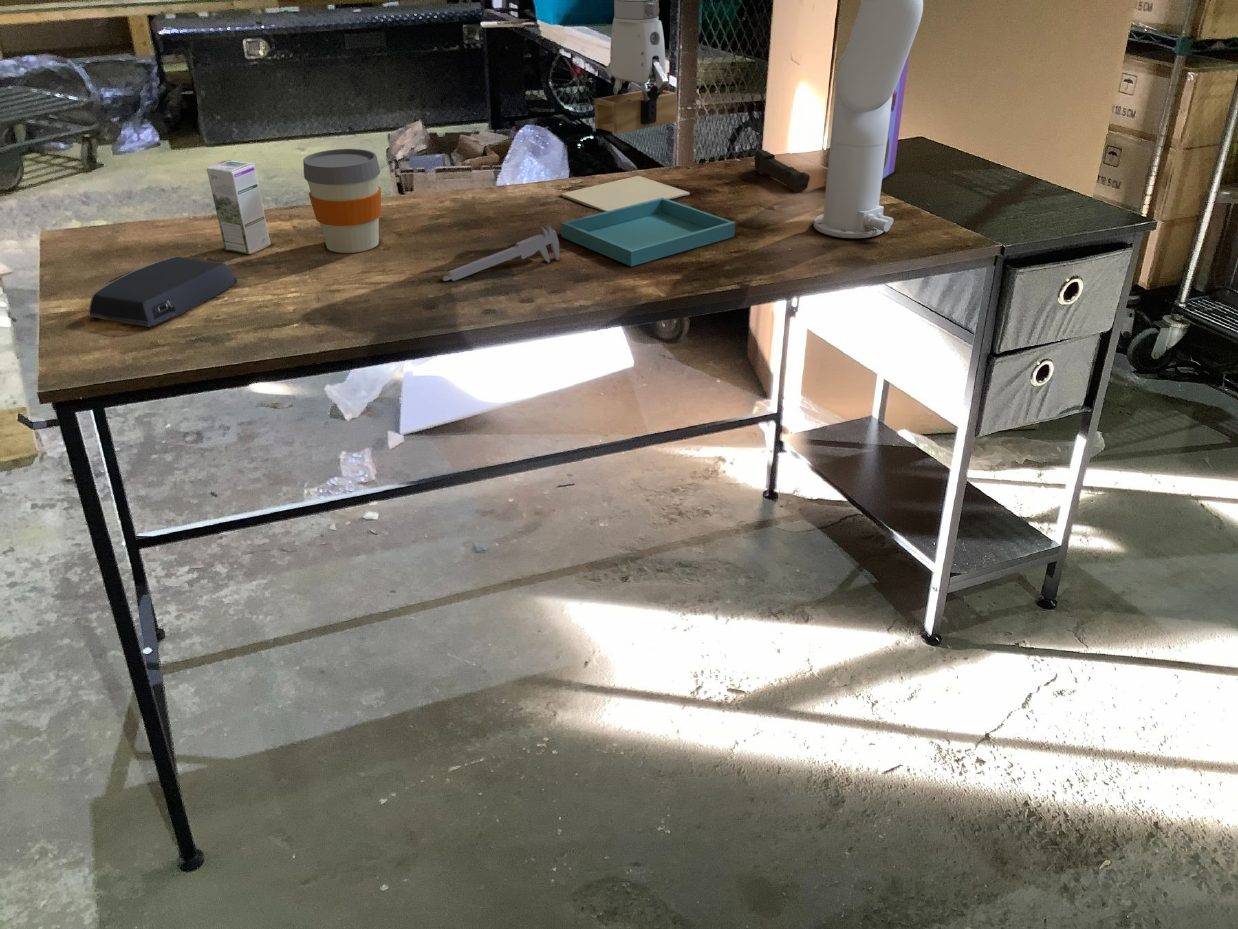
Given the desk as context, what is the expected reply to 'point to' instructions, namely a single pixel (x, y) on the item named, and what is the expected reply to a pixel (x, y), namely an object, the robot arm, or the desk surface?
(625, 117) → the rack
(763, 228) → the desk surface
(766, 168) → the hand tool
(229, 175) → the syrup box
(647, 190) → the mat
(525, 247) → the caliper
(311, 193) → the reusable coffee cup
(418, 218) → the desk surface
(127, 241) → the desk surface
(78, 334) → the desk surface
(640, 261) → the teal tray
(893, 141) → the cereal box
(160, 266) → the hard drive
